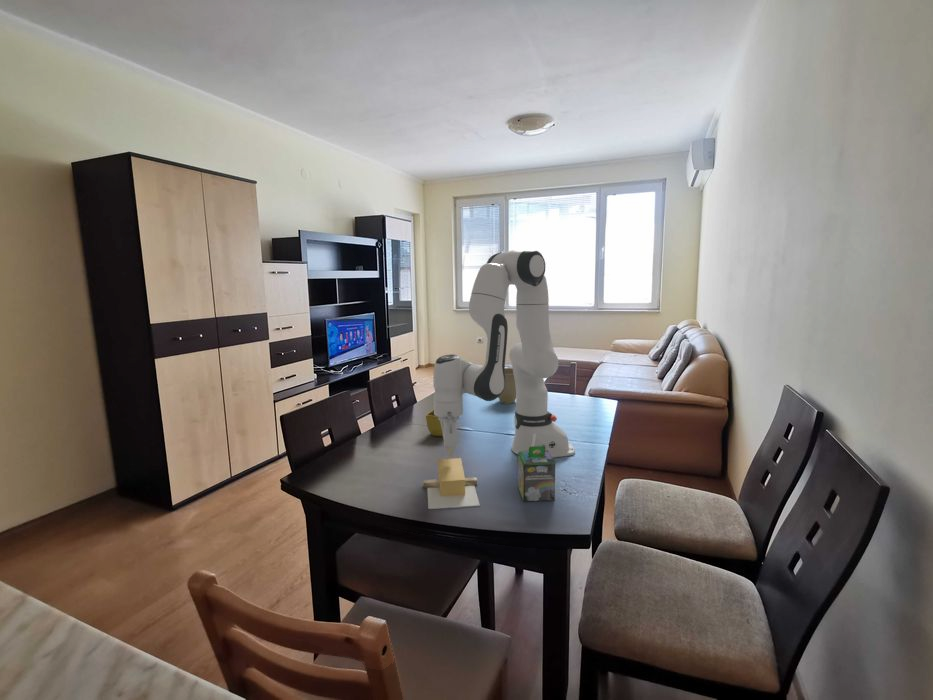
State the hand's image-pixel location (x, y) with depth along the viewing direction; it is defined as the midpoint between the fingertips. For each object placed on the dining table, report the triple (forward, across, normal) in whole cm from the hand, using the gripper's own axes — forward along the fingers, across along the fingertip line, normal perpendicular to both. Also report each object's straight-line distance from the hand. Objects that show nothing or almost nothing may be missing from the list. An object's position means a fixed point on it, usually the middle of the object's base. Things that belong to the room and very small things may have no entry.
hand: (448, 451), depth 138 cm
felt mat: (+9, -13, 0) cm, 15 cm away
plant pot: (+9, +84, -35) cm, 92 cm away
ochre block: (+4, -2, 0) cm, 4 cm away
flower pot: (+9, +40, +1) cm, 41 cm away
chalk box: (+9, -14, -24) cm, 29 cm away
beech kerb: (+9, -5, 0) cm, 10 cm away
